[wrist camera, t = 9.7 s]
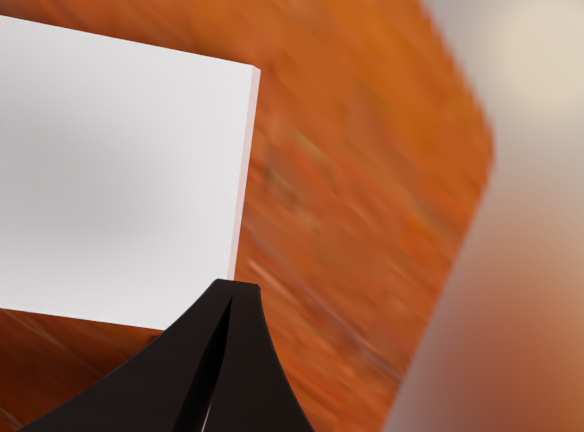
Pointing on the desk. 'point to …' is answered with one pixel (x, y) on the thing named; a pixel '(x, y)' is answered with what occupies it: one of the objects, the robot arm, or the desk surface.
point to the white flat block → (117, 174)
